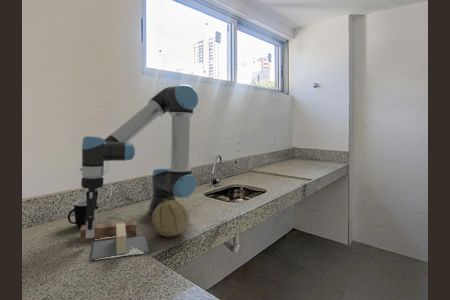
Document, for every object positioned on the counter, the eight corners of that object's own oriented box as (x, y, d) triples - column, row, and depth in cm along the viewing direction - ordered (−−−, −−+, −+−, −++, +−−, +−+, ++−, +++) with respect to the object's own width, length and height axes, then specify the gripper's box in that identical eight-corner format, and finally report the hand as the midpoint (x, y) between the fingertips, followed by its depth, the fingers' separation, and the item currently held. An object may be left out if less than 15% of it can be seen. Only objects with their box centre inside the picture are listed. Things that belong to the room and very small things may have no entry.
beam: (135, 232, 111) (135, 220, 111) (136, 236, 107) (136, 224, 106) (81, 237, 104) (81, 225, 103) (80, 242, 99) (80, 229, 99)
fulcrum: (144, 238, 105) (145, 220, 104) (149, 253, 92) (149, 233, 91) (94, 244, 98) (94, 225, 97) (91, 261, 85) (91, 240, 84)
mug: (89, 220, 122) (89, 199, 122) (101, 225, 117) (101, 202, 117) (62, 228, 112) (62, 204, 111) (73, 233, 107) (73, 208, 107)
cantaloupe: (189, 241, 103) (190, 203, 102) (150, 243, 100) (151, 204, 99) (187, 228, 117) (188, 194, 116) (152, 229, 114) (153, 195, 113)
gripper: (85, 172, 111) (83, 221, 112) (77, 182, 88) (76, 245, 89) (104, 172, 114) (103, 220, 115) (102, 182, 91) (100, 242, 92)
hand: (91, 231), depth 102 cm, fingers open, 13 cm apart
